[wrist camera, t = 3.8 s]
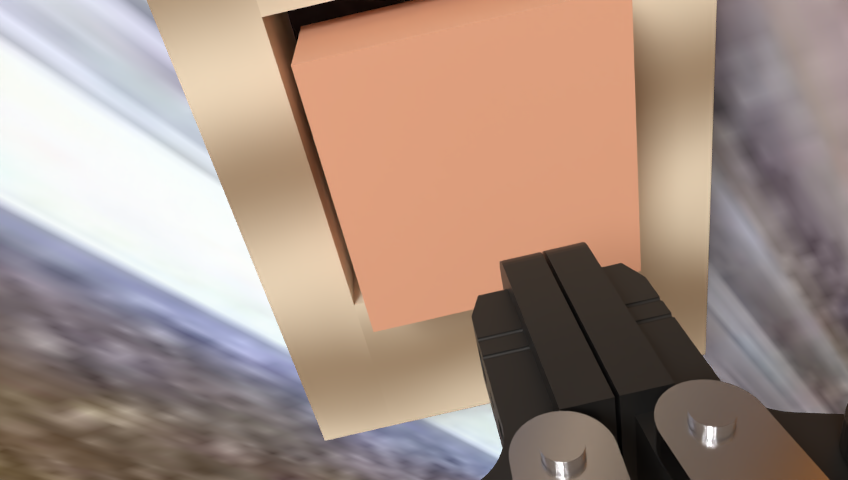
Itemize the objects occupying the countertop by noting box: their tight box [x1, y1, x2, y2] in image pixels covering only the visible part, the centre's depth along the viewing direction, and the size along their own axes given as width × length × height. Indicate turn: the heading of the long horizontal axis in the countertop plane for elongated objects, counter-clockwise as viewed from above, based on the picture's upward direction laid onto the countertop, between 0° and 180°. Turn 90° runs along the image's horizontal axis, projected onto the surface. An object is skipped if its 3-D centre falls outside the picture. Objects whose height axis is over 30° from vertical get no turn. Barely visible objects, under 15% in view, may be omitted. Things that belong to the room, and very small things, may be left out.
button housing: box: [147, 0, 717, 441], centre depth 20 cm, size 20×14×5 cm
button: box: [291, 0, 641, 332], centre depth 18 cm, size 8×8×4 cm
